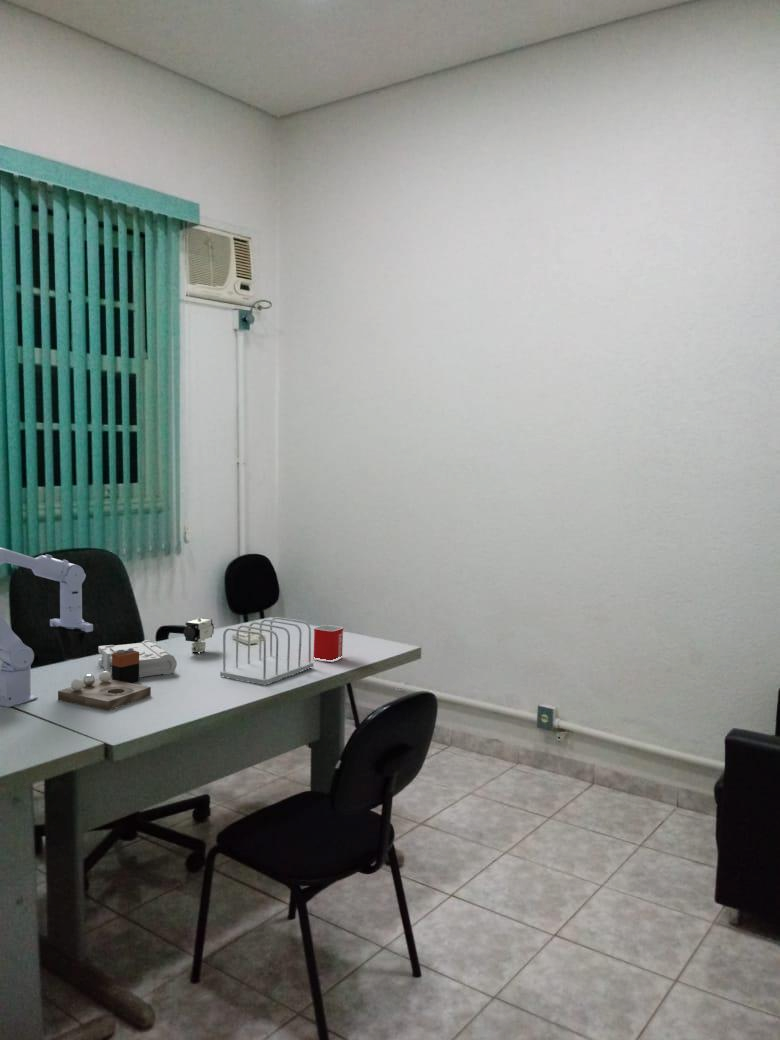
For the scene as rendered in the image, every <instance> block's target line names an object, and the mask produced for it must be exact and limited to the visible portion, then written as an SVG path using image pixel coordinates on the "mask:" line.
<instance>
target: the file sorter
mask: <svg viewBox="0 0 780 1040" xmlns="http://www.w3.org/2000/svg"><path fill="white" fill-rule="evenodd" d="M286 621H288V622H286ZM264 622H269V623H264ZM291 622H292V623H291ZM293 622H295V623H293ZM273 623H277V624H281V625H289V626H293V627H296V628H297V629H298V632H299V637H298V638H299V640H298V658H297V659H293V658H290V656H291V655H290V652H291V635H290V632H289V630H288V628H286V627H284V626H279V625H276V624H273ZM297 623H301V624H305V625H306V626H307V629H308V661H304V660H301V655H302V635H303V634H302V633H303V632H302V629H301V627H300V626H299V625H298V624H297ZM253 625H259V627H257V626H253ZM263 627H269V628H270V629H267V628H263ZM241 628H245V629H248V630H245V629H241ZM273 628H275V629H279V630H284V632H286V634H287V657H282V656H279V636H278V634H277V632H275V631H274V630H273ZM252 630H257V631H259V632H256V631H252ZM228 631H234V632H236V639H235V640H236V641H235V642H236V643H235V646H236V647H235V667H231V668H228V669H226V665H227V664H226V661H227V660H226V658H227V657H226V634H227V632H228ZM311 631H312V629H311V626H310V624H309V622H307V621H306V620H300V619H294V618H293V619H292V618H287V617H286V618H285V617H279V616H278V617H277V616H275V617H273V618H272V619H269V618H266V619H265V618H264V619H262V621H260V622H258V621H254V622H251V623H250V624H249V625H246V624H245V625H244V624H241V625H240V626H238V627H237V628H233V627H228V628H226V629H225V630H224V631H223V634H222V635H223V636H222V637H223V639H222V640H223V641H222V643H223V644H222V645H223V649H222V650H223V651H222V655H223V660H222V661H223V662H222V663H223V666H222V667H223V670H221V671H220V673H219V677H220V676H224V677H229V678H233V679H232V680H234V679H238V680H237V681H239V680H243V681H242V682H244V681H249V682H254V683H258V684H257V685H259V684H263V685H262V686H267V685H266V684H268V683H270V684H272V683H271V682H273V683H275V682H274V681H276V680H278V681H280V680H279V679H281V680H283V679H282V678H284V677H286V678H288V677H287V676H289V677H291V676H290V675H292V674H295V673H297V672H300V671H302V670H305V669H308V668H310V667H313V668H314V662H312V661H311V657H312V656H311V653H312V652H311V651H312V646H311V645H312V644H311V643H312V635H311V634H312V632H311ZM262 632H268V633H269V637H270V638H269V640H270V641H269V642H270V643H269V645H270V647H269V654H270V655H268V656H266V655H267V641H266V637H265V635H263V633H262ZM240 633H244V634H245V633H247V634H248V636H247V640H248V641H247V662H246V663H244V664H241V665H239V637H240V636H239V634H240ZM251 634H252V635H258V636H259V638H258V639H259V644H258V645H259V647H258V648H259V649H258V652H259V653H258V659H256V660H253V661H251V659H250V658H251ZM273 635H274V636H275V639H276V641H275V644H276V645H275V655H273ZM262 640H263V658H262ZM308 670H309V669H308ZM300 673H301V672H300ZM297 674H298V673H297ZM295 675H296V674H295ZM292 676H293V675H292ZM229 678H228V679H229ZM284 679H285V678H284ZM249 682H248V683H249ZM276 682H277V681H276ZM254 683H253V684H254ZM268 685H269V684H268Z"/></svg>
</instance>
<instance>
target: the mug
mask: <svg viewBox="0 0 780 1040" xmlns="http://www.w3.org/2000/svg"><path fill="white" fill-rule="evenodd" d="M313 635H314V636H313V658H314V657H315V658H320V659H326V660H333V659H336V658H338V657H341V656H342V657H343V646H344V645H343V641H344V639H343V638H344V627H343V626H337V625H329V624H322V625H318V626H316V627H313Z"/></svg>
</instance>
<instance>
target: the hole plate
mask: <svg viewBox="0 0 780 1040" xmlns="http://www.w3.org/2000/svg"><path fill="white" fill-rule="evenodd" d="M151 689H152V688H151V686H147V685H142V684H138V683H127V682H122V681H117V680H112V678H111V679H110V680H109V681H108V682H102V681H100V679H99V678H97V679H96V678H95V682H94V684H93V685H91V686H86V685H85V684H84V686H83V688H82V689H81V690H79V691H75V690H73V689H72V687H71V686H70V687H67V688H63V689H61V690H57V701H60V700H62V702H65V701H66V702H65V703H69V702H70V703H71V704H75V705H78V704H79V705H80V706H83V705H84V706H83V707H88V706H89V707H88V708H92V707H93V708H92V709H98V710H101V709H102V711H106V710H107V711H108V710H109V711H112V710H115V709H117V708H120V707H122V705H123V706H126V705H128V703H129V704H132V703H134V701H135V702H137V701H140V700H143V699H146V698H148V696H149V697H151V695H152V694H151V693H152V691H151ZM131 702H132V703H131ZM70 703H69V704H70ZM116 707H117V708H116ZM114 708H115V709H114ZM111 709H112V710H111ZM109 711H108V712H109Z"/></svg>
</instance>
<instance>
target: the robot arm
mask: <svg viewBox="0 0 780 1040" xmlns="http://www.w3.org/2000/svg"><path fill="white" fill-rule="evenodd" d="M3 564H11V565H14V566H18V567H22V568H26V569H30V570H31V571H32V573H33V574H34V576H37V577H40V578H45V579H48V580H50V581H51V580H52V581H56V582H59V614H60V615H59V616H60V617H59V618H52V619H51V618H50V619H49V626H50V627H57V629H54V630H53V631H54V632H53V633H54V634H55V636H56V637H57V640H58V641H59V645H60V648H61V651H62V654H63V655H66V654H70V653H71V655H72V656H73V657H75V656H79V655H80V654H81V652H82V651H81V650H82V647H83V643H84V641H85V639H86V636H87V635H88V633H89V632H91V633H92V632H93V631H94V624H93V623H89V622H86V621H85V620H84V619H83V587H82V585H83V583H84V581H85V580H86V577H87V574H86V573H85V571H84V568H82V566H80V565H78V564H75V563H71V562H69V560H66V559H62V560H61V559H58V558H54V557H53V555H51V554H47V553H46V554H45V555H43V554H41V555H39V556H37V557H33V556H29V555H26V554H23V553H19V552H17V551H13V550H10V549H7V548H4V547H0V566H1V565H3ZM34 652H35V651H33V649H32V648H31V647H29V646H28V645H26V644H25V643H23V641H22V639H21V638H20V637H19V636H18V635H17V634H16V633H15V632H14V631H13V630H12V627H11V626H10V625H9V624H8V622H7V620H6V619H5V617H4V615H2V613H1V612H0V661H1V665H0V706H2V707H6V708H10V707H15V706H18V705H20V704H24V703H27V702H30V701H33V700H37V699H39V697H38V696H37V695H31V690H32V689H31V682H32V681H31V678H32V677H31V665H32V664H33V662H34V659H35V653H34Z"/></svg>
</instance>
